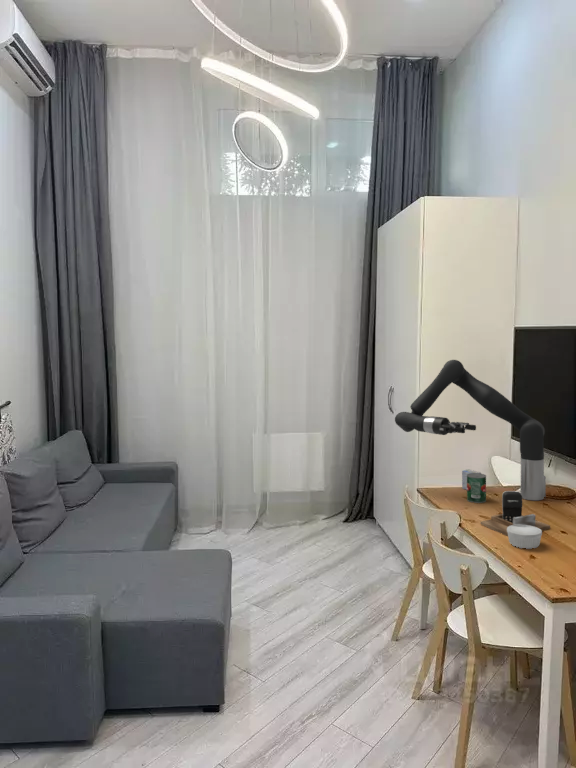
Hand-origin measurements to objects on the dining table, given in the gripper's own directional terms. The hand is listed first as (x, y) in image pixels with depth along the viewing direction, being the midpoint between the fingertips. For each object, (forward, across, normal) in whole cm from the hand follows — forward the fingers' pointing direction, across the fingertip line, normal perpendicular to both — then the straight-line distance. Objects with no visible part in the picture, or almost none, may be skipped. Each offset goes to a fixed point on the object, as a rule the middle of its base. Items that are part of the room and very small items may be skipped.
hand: (470, 429), depth 242 cm
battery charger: (+25, -13, +31) cm, 42 cm away
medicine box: (-12, +20, +32) cm, 40 cm away
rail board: (+26, -13, +32) cm, 43 cm away
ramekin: (+37, -28, +32) cm, 56 cm away
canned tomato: (-1, +7, +32) cm, 33 cm away
